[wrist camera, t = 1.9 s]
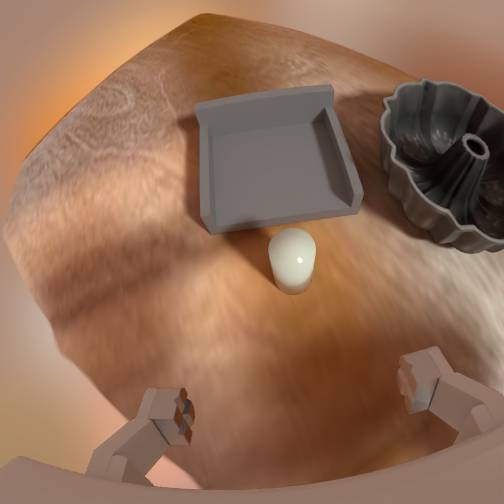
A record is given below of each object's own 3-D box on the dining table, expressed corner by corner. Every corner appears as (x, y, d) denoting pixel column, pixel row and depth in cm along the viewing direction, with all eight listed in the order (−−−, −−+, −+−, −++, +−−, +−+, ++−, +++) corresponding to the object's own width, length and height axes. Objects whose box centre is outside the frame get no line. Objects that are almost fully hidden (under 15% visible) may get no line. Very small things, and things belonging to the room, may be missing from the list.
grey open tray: (357, 214, 39) (368, 178, 31) (211, 235, 40) (192, 203, 33) (328, 123, 45) (331, 84, 38) (207, 140, 47) (194, 103, 39)
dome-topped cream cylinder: (314, 292, 36) (319, 268, 28) (276, 297, 36) (271, 275, 28) (308, 257, 38) (311, 224, 30) (272, 262, 38) (265, 231, 30)
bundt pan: (496, 141, 41) (518, 104, 32) (526, 281, 32) (568, 256, 22) (364, 110, 46) (371, 63, 36) (365, 261, 37) (385, 223, 27)
